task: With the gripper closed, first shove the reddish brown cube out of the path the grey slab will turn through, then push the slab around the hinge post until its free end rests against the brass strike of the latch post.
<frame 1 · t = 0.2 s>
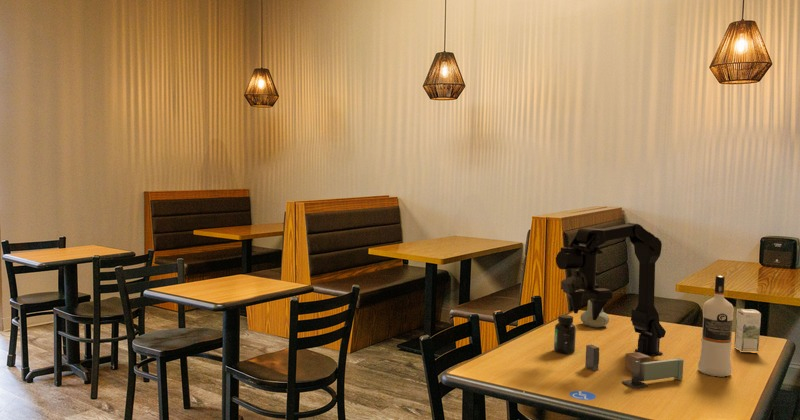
hand: (584, 316, 200), 14 cm above the table, tool pointing down, fingers open, 9 cm apart
hinge post: (635, 384, 179), on the table
latch stile: (591, 368, 193), on the table
air freshener: (594, 326, 248), on the table
grey slab: (660, 371, 183), point 3 cm above the table, hinge at 0.0°
reddish brown cube: (637, 371, 192), on the table
supplement bottle: (564, 352, 211), on the table
vodka: (714, 373, 192), on the table
syrup box: (746, 352, 217), on the table
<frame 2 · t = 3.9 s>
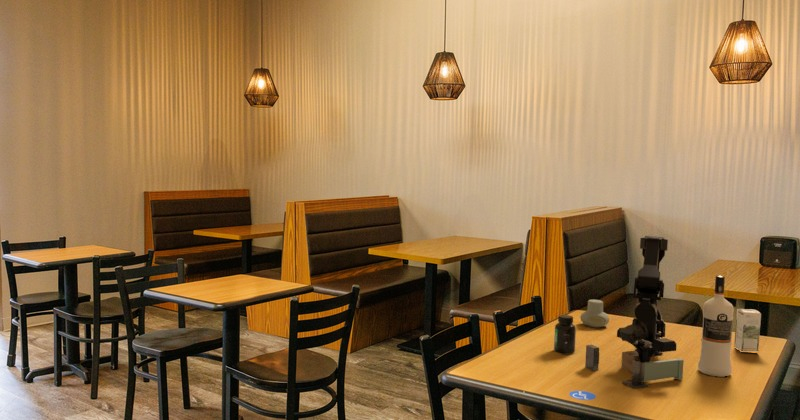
hand: (644, 367, 190), 2 cm above the table, tool pointing down, fingers closed
reddish brown cube: (633, 369, 194), on the table, touching gripper
everything else where it was.
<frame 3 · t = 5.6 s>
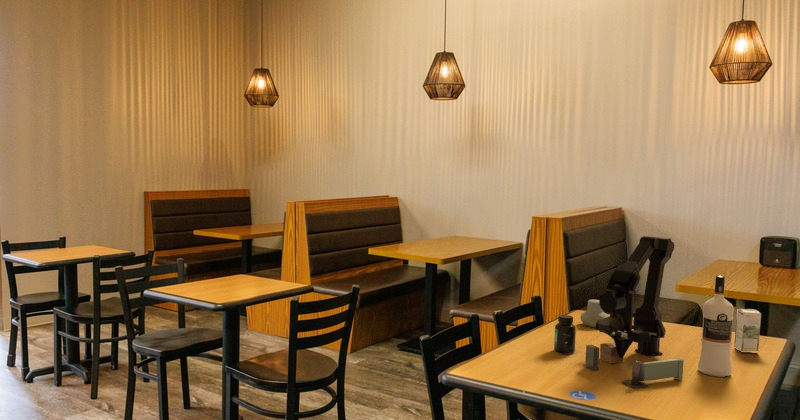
hand: (621, 357, 198), 2 cm above the table, tool pointing down, fingers closed
reddish brown cube: (611, 360, 202), on the table, touching gripper
everything else where it was.
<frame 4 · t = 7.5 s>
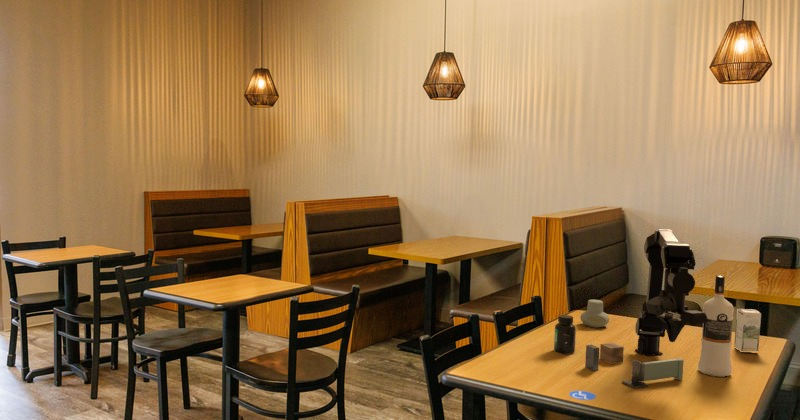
hand: (672, 341, 179), 13 cm above the table, tool pointing down, fingers closed
reddish brown cube: (611, 360, 202), on the table
everything else where it was.
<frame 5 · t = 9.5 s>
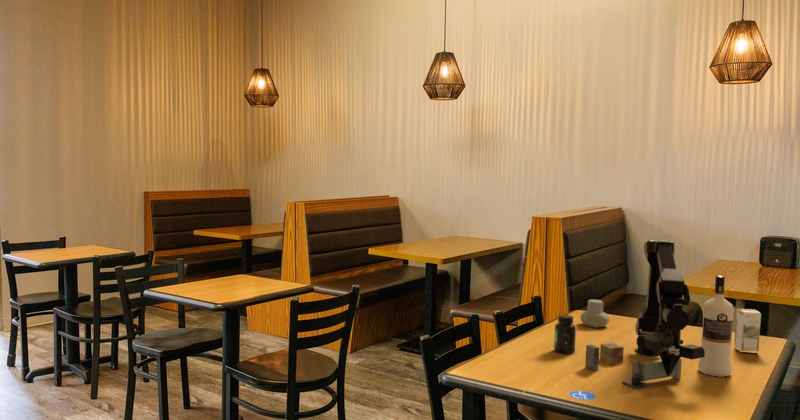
hand: (668, 375, 181), 2 cm above the table, tool pointing down, fingers closed
grey slab: (659, 370, 183), point 3 cm above the table, hinge at 2.6°, touching gripper
everything else where it was.
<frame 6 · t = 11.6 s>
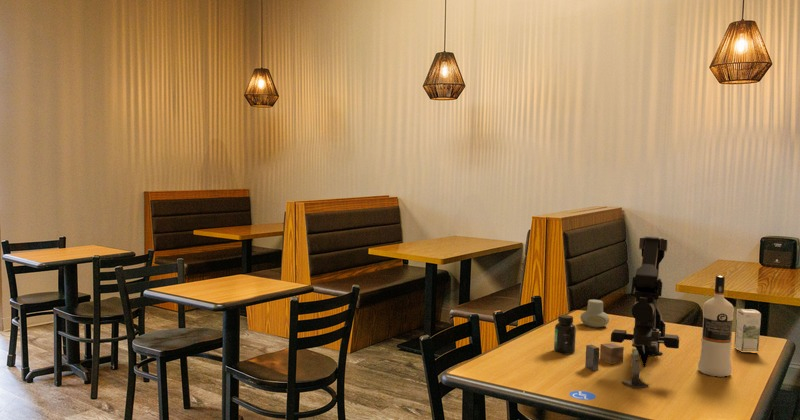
hand: (644, 367, 187), 3 cm above the table, tool pointing down, fingers closed
grey slab: (635, 365, 188), point 3 cm above the table, hinge at 47.8°, touching gripper
everything else where it was.
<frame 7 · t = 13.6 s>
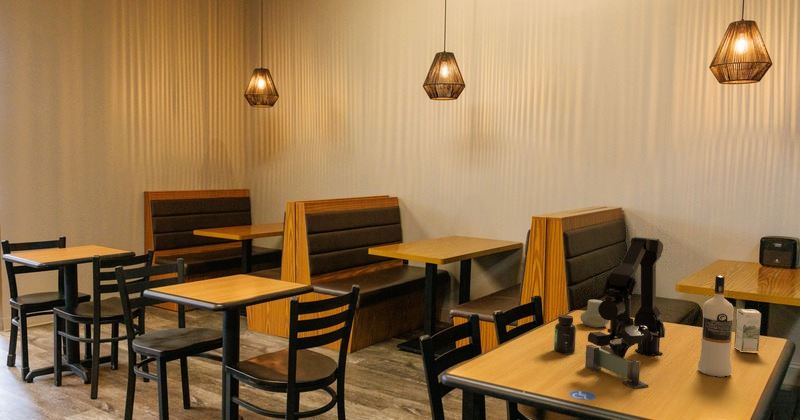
hand: (619, 364, 189), 3 cm above the table, tool pointing down, fingers closed
grey slab: (613, 364, 188), point 3 cm above the table, hinge at 89.7°, touching gripper, latch stile
everything else where it was.
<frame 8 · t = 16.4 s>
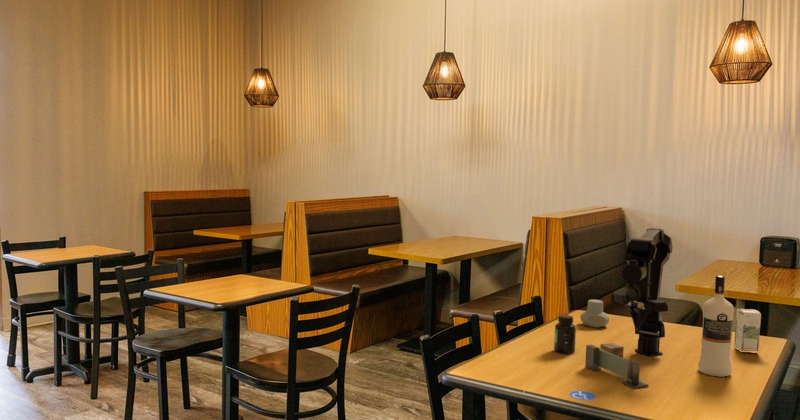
hand: (637, 328, 196), 12 cm above the table, tool pointing down, fingers closed
grey slab: (613, 364, 188), point 3 cm above the table, hinge at 89.6°
everything else where it was.
at the end: grey slab at +90° (first picture: +0°); reddish brown cube inside the target area (2.2 cm from its centre), on the table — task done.
